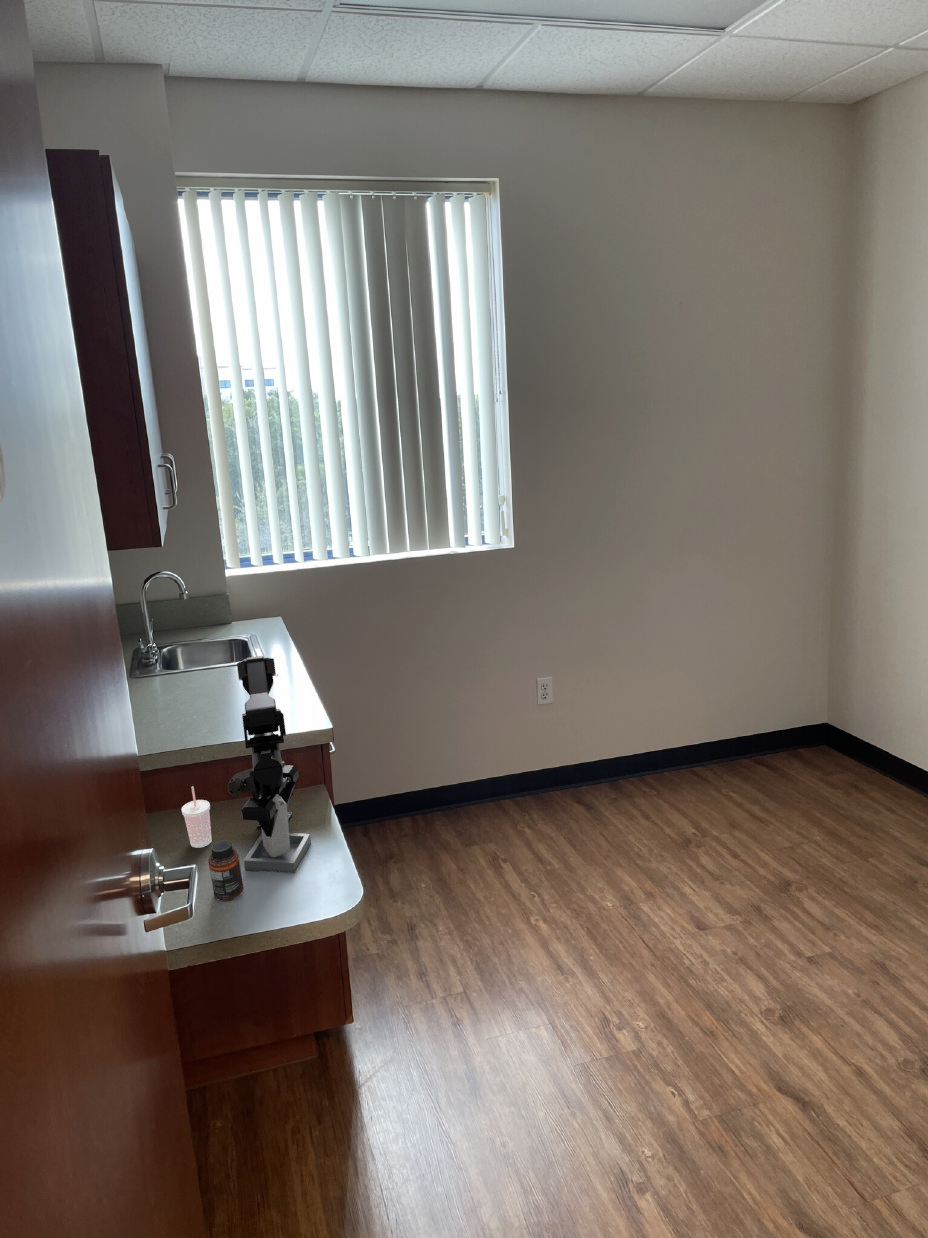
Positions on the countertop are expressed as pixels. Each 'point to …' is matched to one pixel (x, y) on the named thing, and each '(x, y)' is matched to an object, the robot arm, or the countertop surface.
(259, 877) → the countertop surface
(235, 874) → the supplement bottle
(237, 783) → the robot arm
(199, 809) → the beverage cup
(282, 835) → the skincare box
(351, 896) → the countertop surface
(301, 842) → the tray
